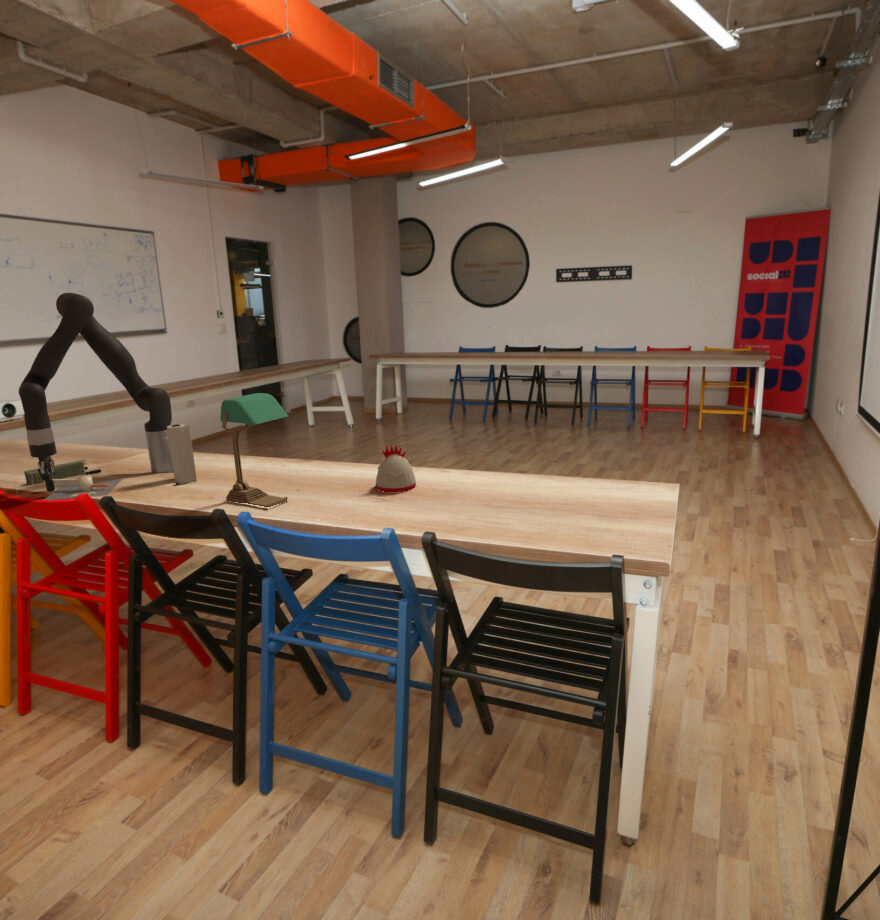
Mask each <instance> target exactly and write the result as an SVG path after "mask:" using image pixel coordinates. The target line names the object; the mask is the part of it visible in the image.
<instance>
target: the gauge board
mask: <svg viewBox="0 0 880 920" xmlns="http://www.w3.org/2000/svg"><path fill="white" fill-rule="evenodd" d="M121 481H123V478H118V479H117V478H116V479H107V480H97V481H96V480H95V481H93V484H109V487H94V488H93V489H91V490H86V491H80V490H79V485H63V486H59V487H58V488H56V489H55V490H54V491H52V493H50V494H49V495H48V496H47V497H45V498H44V499H43V500H48V501H58V500H67V499H68V500H69V499H76V498H75V497H76V496H77V495H79V494H81V493H88V494H89V495H90V496H91V497H100V496H101V497H103V496H108V495H109V494H110V493H111V492H112V491H113V490H114V489H115V488H116V487H117V486H118V484H119V483H120V482H121Z"/></svg>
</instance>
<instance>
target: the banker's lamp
mask: <svg viewBox="0 0 880 920" xmlns="http://www.w3.org/2000/svg"><path fill="white" fill-rule="evenodd" d="M288 417H289V415H288V413H287V412H286V410H284V408H283V406H281V404H280V403H279V402H278V400H277V399H276V398H275V397H274V396H273V395H271V394H269V393H264V392H260V393H259V392H257V393H251V394H246V395H240V396H236V397H231V398H226V399H224V400H223V401H222V402H221V406H220V422H221V423H222V424H221V427H222V429H223V430H225V431H226V432H229V433H230V432H231V433H232V436H231V437H232V438H231V440H232V441H231V442H232V451H233V458H234V468H235V474H236V481H235V482H234V484H233V486H232V488H231V489H230V490H229V491H228V492H227V495H226V496H225V501H226V502H227V501H231V502H230V503H232V502H238V503H248V504H253V505H259V506H264V507H271V506H274V505H277V504H280V503H283V502H285V501H287V500H288V496H285V497H280V496H275V495H271V494H269V493H266V492H264V490H262V489H261V488H258V487H252V486H250V485H249V483H248V482H247V481H245V480H244V477H243V469H242V462H241V461H242V460H241V454H240V452H241V451H240V445H239V443H240V442H239V438H240V437H239V436H240V433H242V432H243V431H245V430H247V429H250V428H252V427H253V426H256V425H261V424H263V423H268V422H271V421H275V420H279V419H284V418H288ZM228 423H235V424H244V425H243V426H242V427H240V428H238V429H236V431H235V430H233V429H230V428H227V425H228ZM288 501H289V500H288Z"/></svg>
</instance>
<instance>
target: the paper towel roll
mask: <svg viewBox="0 0 880 920" xmlns="http://www.w3.org/2000/svg"><path fill="white" fill-rule="evenodd" d="M167 431H168V438H169V445H170V451H171V458H172V465H173V472H174V473H173V477H174V481H175V484H177V485H179V484H181V485H182V484H191V483H196V482H198V479H197V471H196V463H195V457H194V450H193V449H194V448H193V442H192V436H191V428H190V425H185V423H184V424H182V423H179V424H171V425H170V426H167Z"/></svg>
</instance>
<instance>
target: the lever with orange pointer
mask: <svg viewBox="0 0 880 920" xmlns="http://www.w3.org/2000/svg"><path fill="white" fill-rule="evenodd" d="M53 480H54V486H55V487H56V486H57V487H58V486H59V487H60V486H63V485H79V490H80V491H86V490H91V489H93V488H94V487H109V484H93V482H94V481H93V476H92V475H81V476H79V477H78V476H77V478H63V479H53ZM43 484H44V488H46V484H45V481H44V483H43Z"/></svg>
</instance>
